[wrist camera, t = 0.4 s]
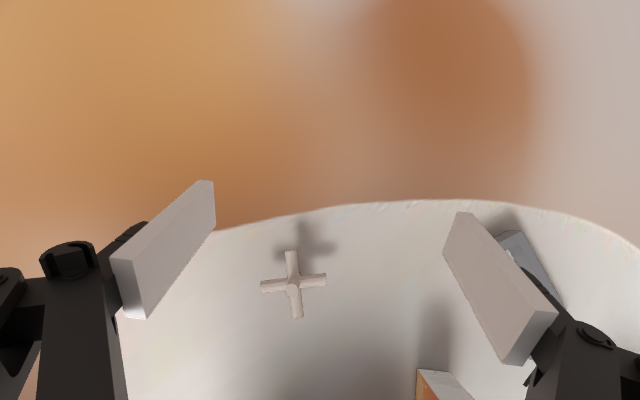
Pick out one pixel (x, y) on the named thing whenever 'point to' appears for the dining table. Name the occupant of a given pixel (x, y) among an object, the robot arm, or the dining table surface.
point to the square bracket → (525, 258)
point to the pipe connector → (293, 283)
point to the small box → (439, 386)
